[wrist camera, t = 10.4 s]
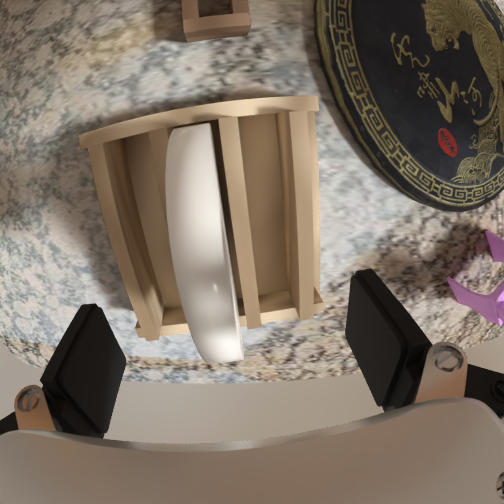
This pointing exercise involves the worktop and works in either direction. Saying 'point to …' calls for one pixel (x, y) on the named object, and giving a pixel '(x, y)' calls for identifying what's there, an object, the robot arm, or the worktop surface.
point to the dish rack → (234, 202)
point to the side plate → (201, 244)
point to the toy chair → (489, 306)
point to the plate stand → (215, 21)
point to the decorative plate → (421, 92)
